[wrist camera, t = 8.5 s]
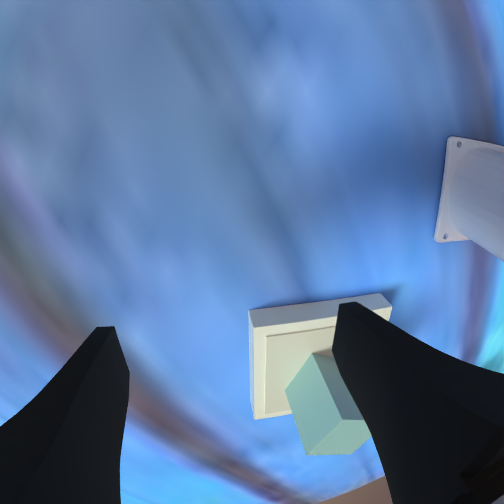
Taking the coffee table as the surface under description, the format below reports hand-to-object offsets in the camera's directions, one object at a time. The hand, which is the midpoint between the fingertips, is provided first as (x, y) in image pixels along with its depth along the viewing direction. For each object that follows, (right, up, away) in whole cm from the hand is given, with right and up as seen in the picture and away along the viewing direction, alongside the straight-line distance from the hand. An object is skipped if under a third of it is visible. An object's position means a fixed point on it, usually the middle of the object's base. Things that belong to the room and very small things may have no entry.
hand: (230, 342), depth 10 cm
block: (+6, -6, +13) cm, 16 cm away
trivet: (+5, -5, +15) cm, 17 cm away
